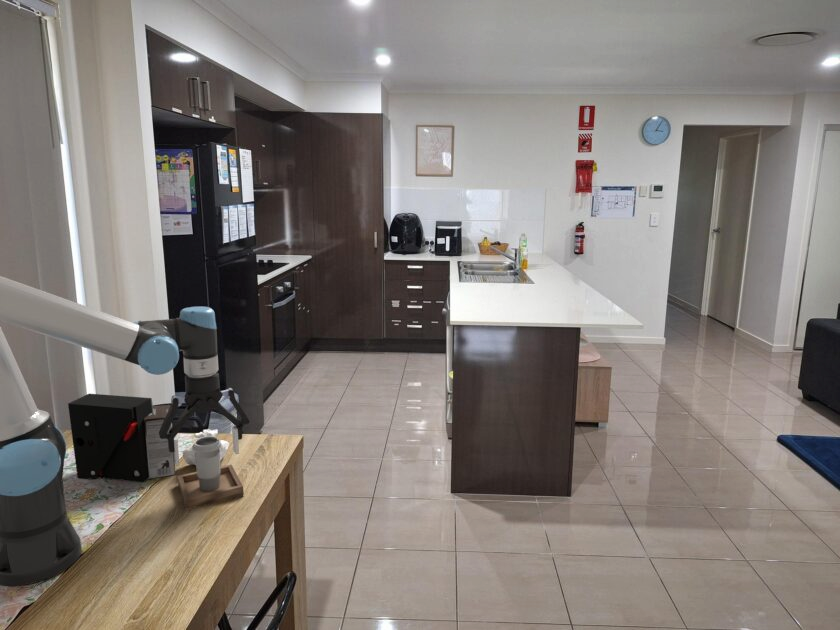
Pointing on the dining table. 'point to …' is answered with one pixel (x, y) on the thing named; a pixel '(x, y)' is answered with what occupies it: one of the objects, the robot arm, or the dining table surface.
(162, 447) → the coffee box
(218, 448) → the cup
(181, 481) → the tray
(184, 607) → the dining table surface
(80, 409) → the electrical component
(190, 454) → the white lumpy piece
